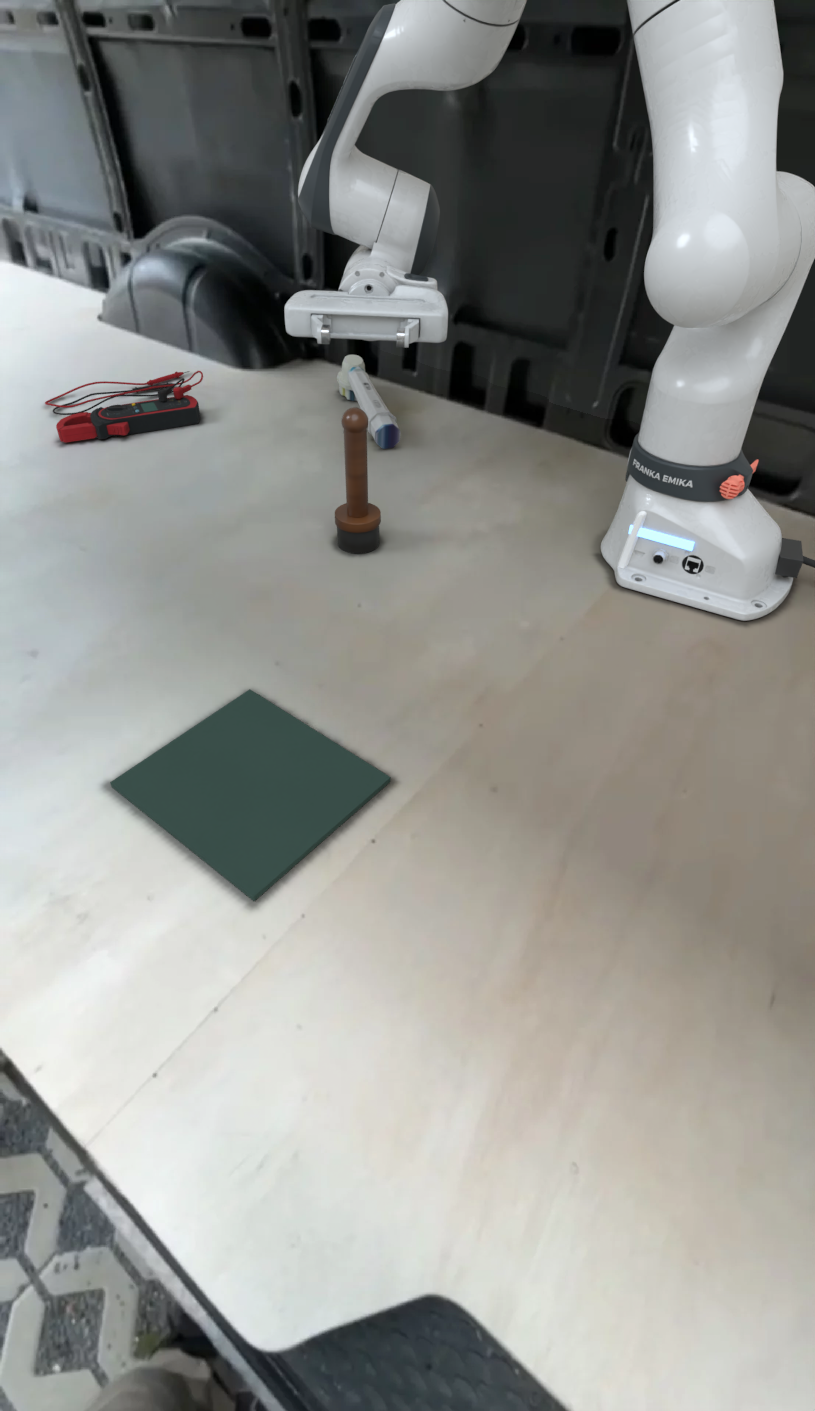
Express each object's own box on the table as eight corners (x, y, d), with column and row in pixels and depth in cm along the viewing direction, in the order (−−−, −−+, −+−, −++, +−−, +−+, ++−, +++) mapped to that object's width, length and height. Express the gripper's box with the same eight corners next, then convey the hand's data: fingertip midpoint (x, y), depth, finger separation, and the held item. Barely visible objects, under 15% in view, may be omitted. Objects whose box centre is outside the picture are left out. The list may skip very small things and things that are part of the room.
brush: (390, 541, 99) (390, 407, 88) (360, 559, 96) (356, 423, 84) (356, 526, 102) (352, 394, 90) (326, 544, 98) (318, 409, 87)
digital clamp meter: (221, 395, 122) (51, 420, 114) (225, 424, 125) (59, 450, 117) (186, 347, 137) (33, 366, 129) (190, 374, 140) (41, 394, 132)
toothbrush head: (371, 425, 115) (333, 346, 131) (370, 465, 120) (334, 384, 136) (405, 422, 116) (364, 343, 132) (403, 461, 122) (363, 381, 137)
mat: (390, 781, 69) (390, 777, 69) (254, 901, 60) (253, 897, 59) (250, 693, 77) (249, 688, 77) (111, 786, 68) (109, 782, 68)
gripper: (289, 271, 101) (272, 306, 91) (448, 278, 101) (449, 314, 91) (293, 323, 106) (277, 362, 96) (445, 330, 106) (445, 370, 96)
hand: (362, 339), depth 94 cm, fingers open, 8 cm apart
